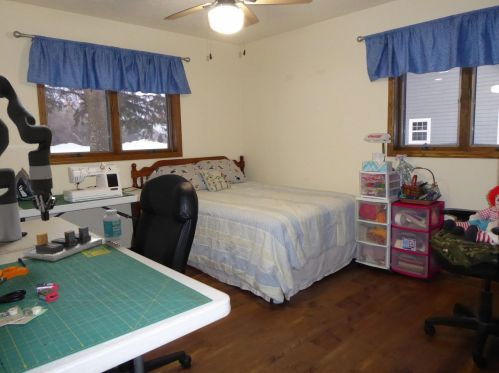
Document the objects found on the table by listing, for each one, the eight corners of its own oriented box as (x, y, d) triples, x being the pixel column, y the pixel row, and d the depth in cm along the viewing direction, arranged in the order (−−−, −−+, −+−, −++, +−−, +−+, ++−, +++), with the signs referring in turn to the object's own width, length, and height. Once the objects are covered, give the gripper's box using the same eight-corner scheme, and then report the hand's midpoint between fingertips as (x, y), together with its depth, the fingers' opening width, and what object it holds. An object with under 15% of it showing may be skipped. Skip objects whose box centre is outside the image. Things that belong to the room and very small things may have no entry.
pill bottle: (116, 242, 157) (113, 212, 155) (101, 241, 159) (98, 212, 157) (125, 237, 164) (123, 208, 163) (110, 236, 166) (108, 208, 164)
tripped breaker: (37, 244, 142) (36, 234, 141) (44, 242, 145) (43, 232, 144) (41, 244, 141) (40, 235, 141) (48, 242, 144) (47, 233, 143)
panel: (23, 256, 141) (21, 236, 140) (74, 239, 163) (72, 222, 162) (54, 261, 134) (52, 240, 133) (102, 243, 156) (101, 225, 155)
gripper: (20, 177, 137) (25, 221, 140) (44, 179, 132) (49, 224, 135) (38, 175, 144) (42, 217, 147) (61, 176, 139) (65, 219, 142)
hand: (45, 220), depth 141 cm, fingers closed
